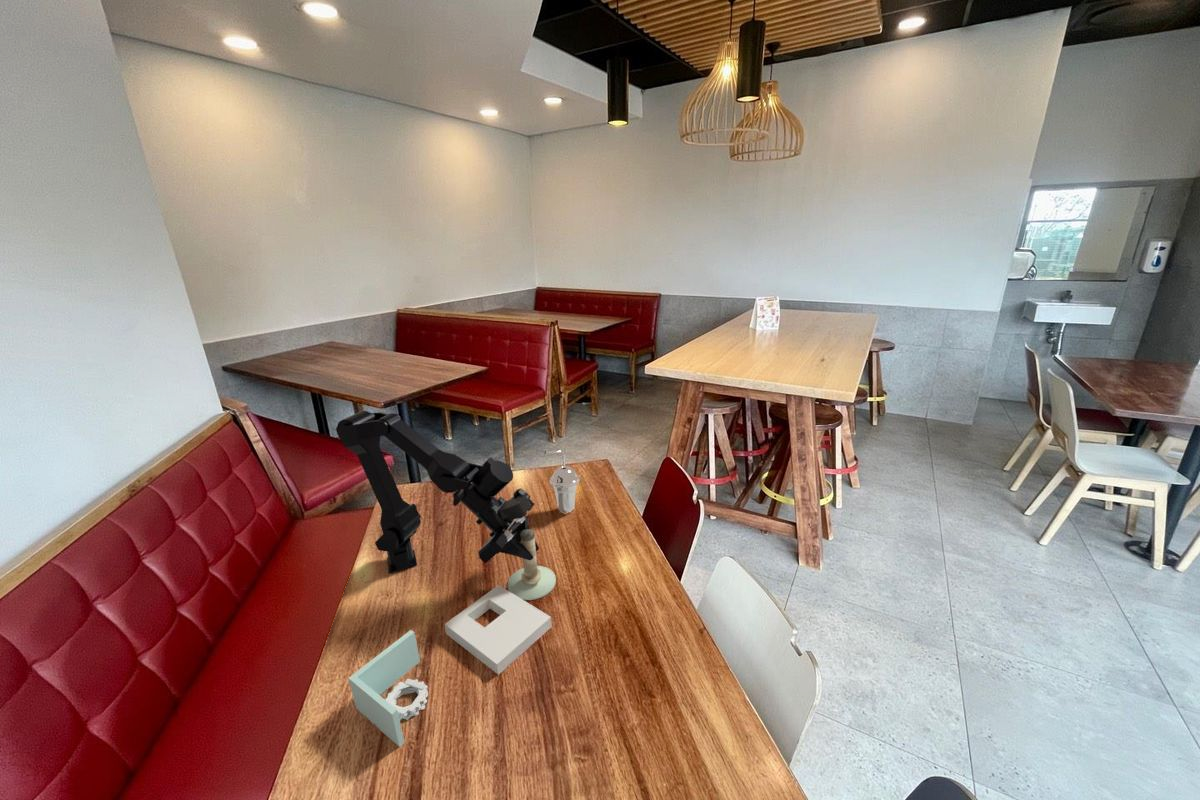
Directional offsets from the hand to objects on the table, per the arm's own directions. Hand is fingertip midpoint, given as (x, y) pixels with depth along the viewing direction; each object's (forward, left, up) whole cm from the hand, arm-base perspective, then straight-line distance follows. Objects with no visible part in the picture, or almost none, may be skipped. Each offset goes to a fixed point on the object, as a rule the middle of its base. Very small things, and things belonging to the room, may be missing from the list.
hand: (534, 554), depth 106 cm
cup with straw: (-26, +18, -8) cm, 33 cm away
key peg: (-1, -1, -7) cm, 7 cm away
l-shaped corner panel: (+17, -30, -9) cm, 35 cm away
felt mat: (-1, -1, -8) cm, 8 cm away
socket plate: (+9, -11, -8) cm, 17 cm away
